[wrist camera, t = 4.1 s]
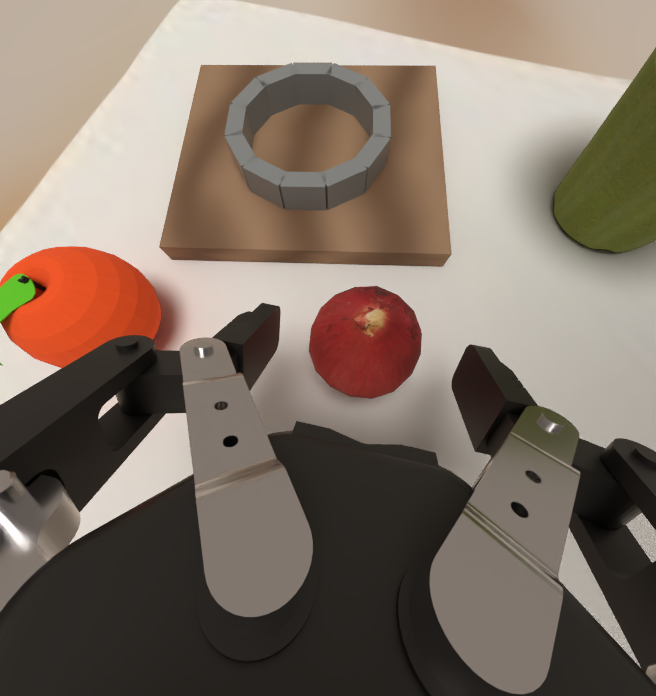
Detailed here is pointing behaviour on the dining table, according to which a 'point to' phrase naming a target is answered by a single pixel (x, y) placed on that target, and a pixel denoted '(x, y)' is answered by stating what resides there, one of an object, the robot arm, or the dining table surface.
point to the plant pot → (616, 175)
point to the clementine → (75, 303)
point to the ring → (318, 89)
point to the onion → (365, 342)
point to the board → (312, 156)
